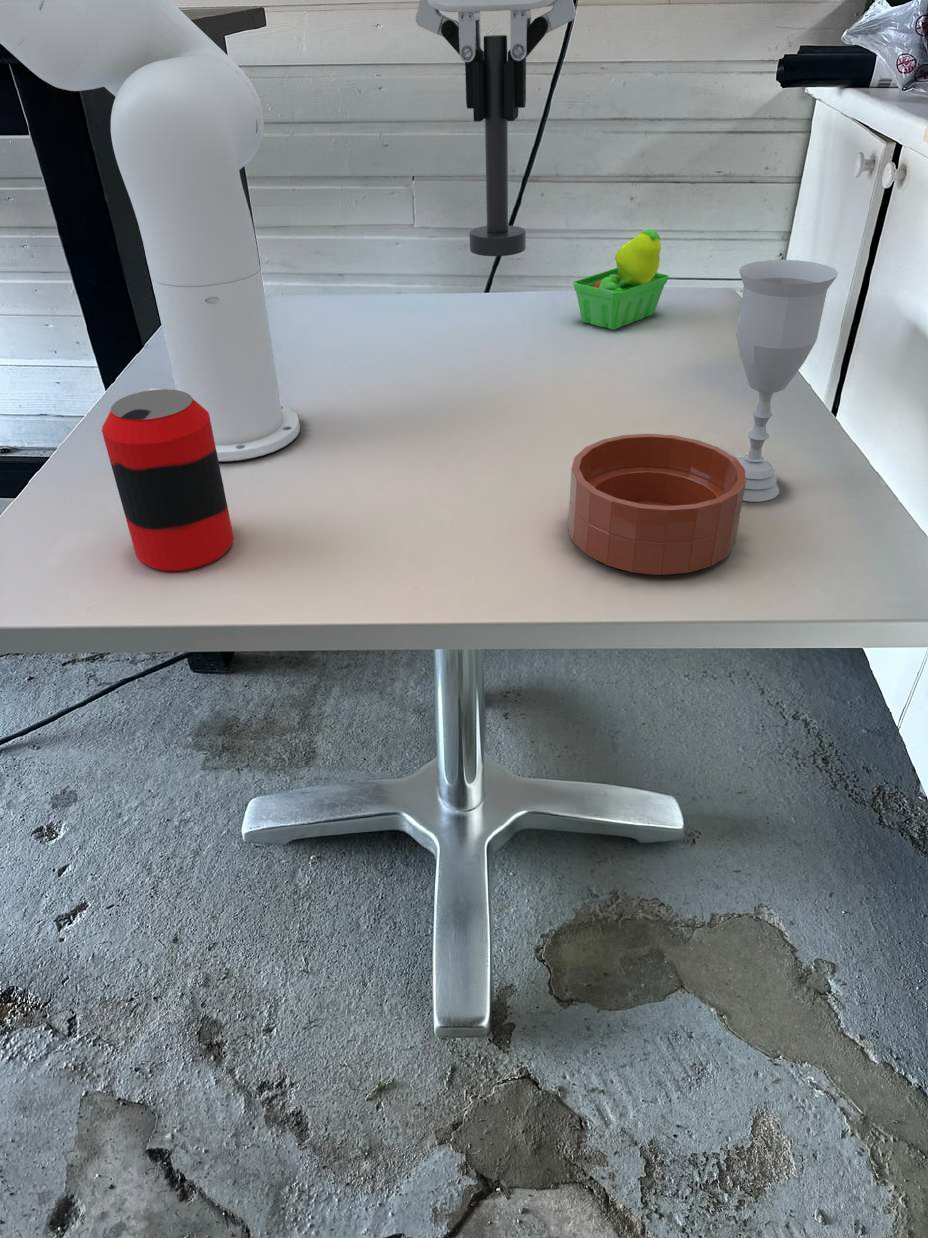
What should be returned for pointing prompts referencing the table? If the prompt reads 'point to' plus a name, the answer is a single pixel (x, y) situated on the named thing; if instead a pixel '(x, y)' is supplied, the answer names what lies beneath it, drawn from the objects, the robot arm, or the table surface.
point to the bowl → (655, 503)
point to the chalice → (776, 345)
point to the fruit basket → (624, 285)
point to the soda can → (168, 479)
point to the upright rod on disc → (496, 161)
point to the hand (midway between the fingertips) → (496, 117)
